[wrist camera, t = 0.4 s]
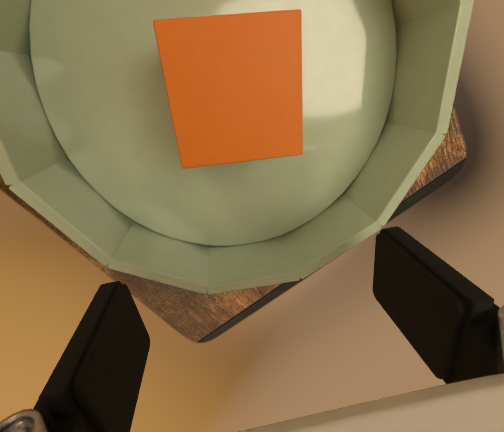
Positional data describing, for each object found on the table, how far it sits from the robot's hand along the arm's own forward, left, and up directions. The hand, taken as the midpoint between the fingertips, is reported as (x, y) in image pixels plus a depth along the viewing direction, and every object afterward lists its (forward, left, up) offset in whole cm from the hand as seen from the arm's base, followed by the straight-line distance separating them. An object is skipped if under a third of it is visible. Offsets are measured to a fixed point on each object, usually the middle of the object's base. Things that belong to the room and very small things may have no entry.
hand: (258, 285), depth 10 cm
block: (-7, 0, -5) cm, 8 cm away
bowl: (-7, 0, -5) cm, 8 cm away
